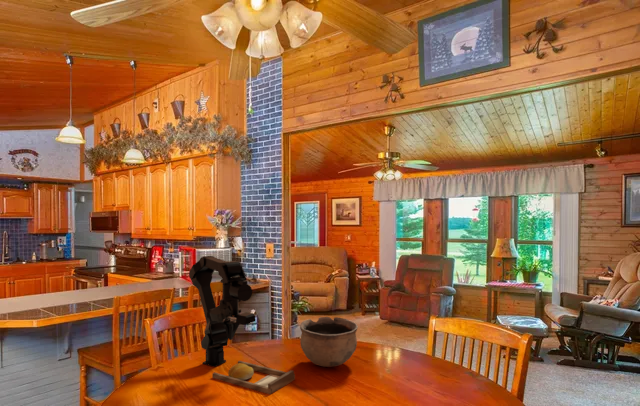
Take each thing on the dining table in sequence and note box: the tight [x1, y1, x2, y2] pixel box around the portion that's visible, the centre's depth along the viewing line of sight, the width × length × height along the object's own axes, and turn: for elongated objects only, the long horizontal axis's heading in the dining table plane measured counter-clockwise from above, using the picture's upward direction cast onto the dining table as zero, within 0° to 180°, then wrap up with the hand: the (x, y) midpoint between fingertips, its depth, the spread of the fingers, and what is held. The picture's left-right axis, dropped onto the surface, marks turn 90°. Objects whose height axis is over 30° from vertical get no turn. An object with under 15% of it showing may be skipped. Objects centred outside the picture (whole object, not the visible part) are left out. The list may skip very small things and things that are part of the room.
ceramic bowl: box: [299, 316, 359, 368], centre depth 160 cm, size 22×22×15 cm
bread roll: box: [227, 363, 255, 381], centre depth 147 cm, size 8×9×4 cm
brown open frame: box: [211, 360, 296, 395], centre depth 146 cm, size 25×14×3 cm, turn 59°
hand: (230, 339), depth 151 cm, fingers closed
